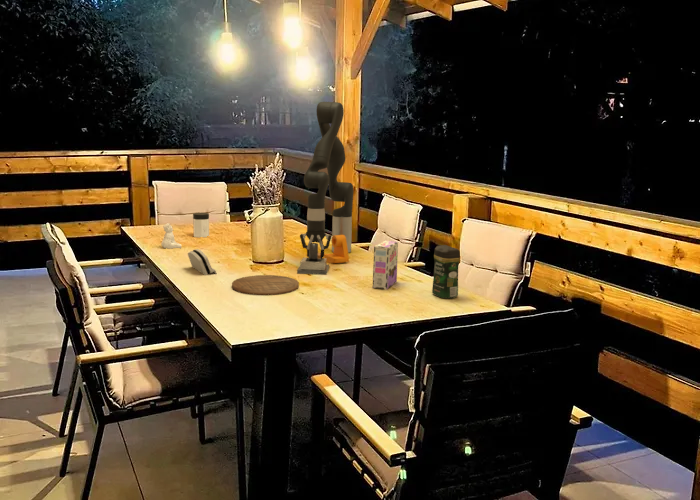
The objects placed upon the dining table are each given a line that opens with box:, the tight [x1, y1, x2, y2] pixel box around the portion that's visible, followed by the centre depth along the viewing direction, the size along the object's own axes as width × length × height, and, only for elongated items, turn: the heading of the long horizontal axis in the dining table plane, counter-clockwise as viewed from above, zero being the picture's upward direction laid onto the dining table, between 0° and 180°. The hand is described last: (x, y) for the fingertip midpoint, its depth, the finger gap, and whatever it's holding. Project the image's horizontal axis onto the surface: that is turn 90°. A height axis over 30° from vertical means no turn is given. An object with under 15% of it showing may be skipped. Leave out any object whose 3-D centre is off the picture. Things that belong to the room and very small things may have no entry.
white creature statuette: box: [160, 222, 182, 250], centre depth 323 cm, size 10×9×12 cm
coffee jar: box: [431, 244, 461, 300], centre depth 246 cm, size 10×8×19 cm
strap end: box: [299, 252, 328, 270], centre depth 286 cm, size 17×10×4 cm, turn 177°
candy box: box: [372, 240, 399, 290], centre depth 260 cm, size 14×6×16 cm, turn 160°
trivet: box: [231, 274, 300, 296], centre depth 255 cm, size 25×25×2 cm
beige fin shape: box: [187, 248, 217, 276], centre depth 278 cm, size 17×5×10 cm, turn 31°
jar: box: [192, 212, 210, 238], centre depth 355 cm, size 9×8×12 cm
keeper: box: [296, 242, 330, 275], centre depth 282 cm, size 12×12×12 cm
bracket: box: [323, 235, 350, 264], centre depth 301 cm, size 11×7×12 cm, turn 29°
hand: (315, 257), depth 290 cm, fingers open, 4 cm apart
